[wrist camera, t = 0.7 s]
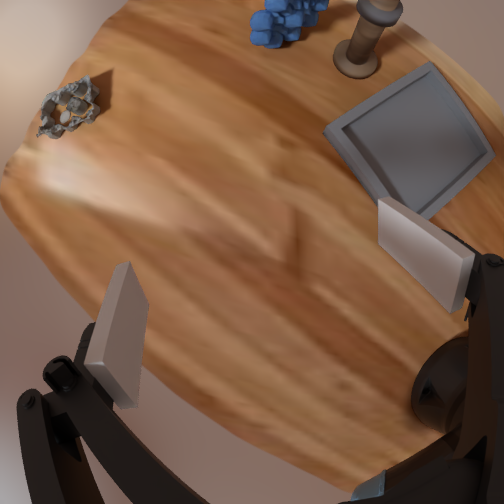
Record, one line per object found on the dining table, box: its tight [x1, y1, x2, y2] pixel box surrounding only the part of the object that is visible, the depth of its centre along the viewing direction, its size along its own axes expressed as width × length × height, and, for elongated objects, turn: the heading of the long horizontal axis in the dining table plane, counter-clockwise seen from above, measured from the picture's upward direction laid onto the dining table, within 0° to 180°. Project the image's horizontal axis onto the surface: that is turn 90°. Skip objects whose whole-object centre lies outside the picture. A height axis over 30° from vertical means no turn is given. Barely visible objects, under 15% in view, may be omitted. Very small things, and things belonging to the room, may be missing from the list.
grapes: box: [250, 0, 329, 49], centre depth 29 cm, size 12×7×12 cm, turn 123°
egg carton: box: [36, 75, 100, 139], centre depth 36 cm, size 11×8×4 cm
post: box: [333, 0, 403, 79], centre depth 27 cm, size 6×6×16 cm
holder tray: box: [323, 61, 496, 220], centre depth 33 cm, size 16×20×3 cm
